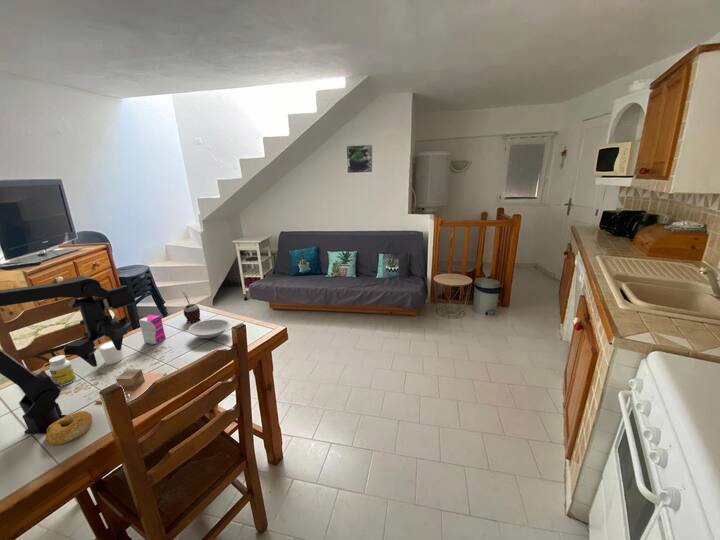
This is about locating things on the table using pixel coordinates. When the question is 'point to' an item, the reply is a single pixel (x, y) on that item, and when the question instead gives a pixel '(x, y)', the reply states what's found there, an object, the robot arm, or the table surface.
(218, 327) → the dish
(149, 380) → the tile mat
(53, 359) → the supplement bottle
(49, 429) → the bagel
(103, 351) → the white cup
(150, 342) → the supplement box
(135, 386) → the walnut cube
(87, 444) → the table surface
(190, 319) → the mate gourd
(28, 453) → the table surface
